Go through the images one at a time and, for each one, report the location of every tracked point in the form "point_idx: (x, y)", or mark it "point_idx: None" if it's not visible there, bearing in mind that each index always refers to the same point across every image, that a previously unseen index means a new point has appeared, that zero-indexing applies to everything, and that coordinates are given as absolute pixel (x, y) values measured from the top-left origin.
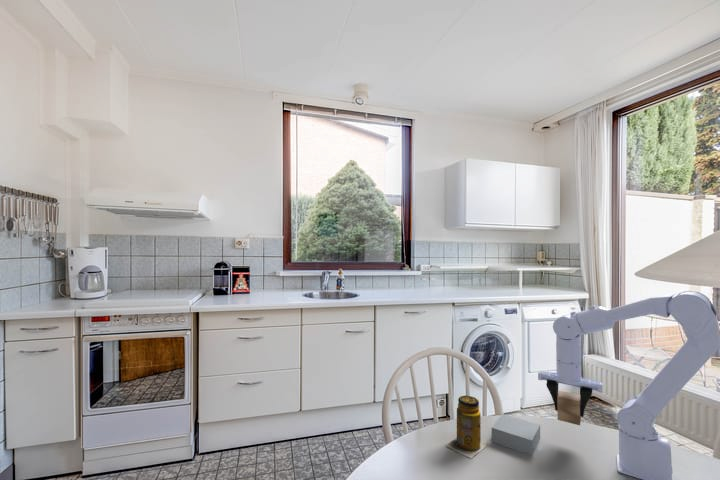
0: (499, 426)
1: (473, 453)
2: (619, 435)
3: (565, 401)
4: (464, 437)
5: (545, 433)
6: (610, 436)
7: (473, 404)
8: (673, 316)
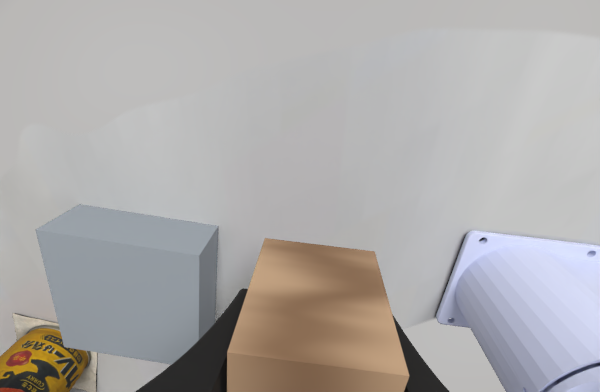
0: (80, 330)
1: (90, 378)
2: (508, 383)
3: None
4: None
5: (230, 181)
6: (506, 56)
7: None
8: None
